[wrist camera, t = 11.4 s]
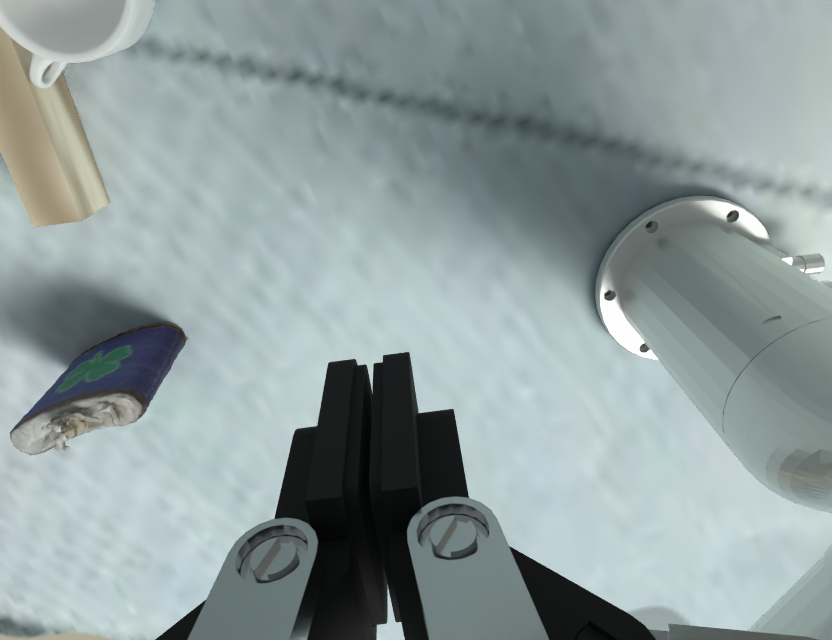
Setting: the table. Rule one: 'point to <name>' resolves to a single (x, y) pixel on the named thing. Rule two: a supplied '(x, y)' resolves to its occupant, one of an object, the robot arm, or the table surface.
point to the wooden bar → (45, 144)
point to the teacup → (72, 30)
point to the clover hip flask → (101, 388)
